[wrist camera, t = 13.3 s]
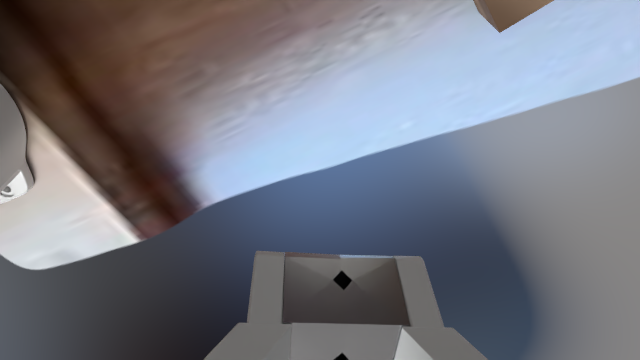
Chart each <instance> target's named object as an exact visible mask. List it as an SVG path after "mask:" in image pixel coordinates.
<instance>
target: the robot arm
mask: <svg viewBox="0 0 640 360" xmlns="http://www.w3.org/2000/svg"><path fill="white" fill-rule="evenodd" d="M25 152H26V131H25V126H24V122H23V119H22V116H21V114H20V112H19V110H18V108H17V106H16V104H15V102H14V101H13V99H12V98H11V96H10V95H9V93H8V92H7V91H6V90H5V88H4V87H3V86H2V85H1V84H0V204H3V203H5V202H8V201H10V200H12V199H15V198H17V197H20V196H22V195H24V194H26V193H27V192H28V191H29V190H30V189H31V188H32V187H33V185H34V181H33V177H32V174H31V172H30V169H29V167H28V165H27V162H26V158H25ZM7 186H9V187H10V188H9V187H7ZM283 282H284V283H283ZM204 360H488V359H487V358H485V357H484V356H483V355H482V354H481V353H480V352H479V351H478V350H477V349H475V348H474V347H473V346H472V345H471V344H470V343H469V342H468V341H467V340H466V339H464V338H463V337H462V336H461V335H460V334H459V333H458V332H457V331H456V330H455V329H453V328H444V325H443V322H442V319H441V315H440V312H439V309H438V306H437V302H436V299H435V296H434V293H433V290H432V286H431V283H430V280H429V277H428V273H427V270H426V267H425V264H424V260H423V259H422V258H421V257H420V256H393V257H391V256H363V255H330V254H312V253H294V252H285V262H284V253H282V252H267V251H257V252H256V254H255V258H254V266H253V275H252V284H251V293H250V302H249V311H248V319H247V323H238V324H237V325H236V326H235V327H234V328H233V329H232V330H231V331H230V332H229V333H228V334H227V335H226V336H225V337H224V339H223V340H222V341H221V342H220V343H219V344H218V345H217V346H216V347H215V348H214V349H213V350H212V351H211V352H210V354H208V355H207V357H206V358H205V359H204Z"/></svg>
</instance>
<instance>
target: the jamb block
mask: <svg viewBox="0 0 640 360" xmlns="http://www.w3.org/2000/svg"><path fill="white" fill-rule="evenodd" d="M473 1H474V3H475V5H476V7H477V9H478V11H479V13H480V14H481V15H482V16H483V17H484V18H485V19H486V20H487V21H488V22H489V23H490V24H491V25H492V26H493V27H494V28H495V29H496V30H497V31H498V32H499V33H500V32H502V31H503V30H505V29H507V28H509V27H510V26H512V25H514V24H515V23H517V22H519V21H520V20H522V19H524V18H525V17H527V16H529V15H530V14H532V13H534V12H535V11H537V10H539V9H540V8H542V7H544V6H545V5H547V4H549V3H550V2H552V1H554V0H473Z"/></svg>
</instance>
